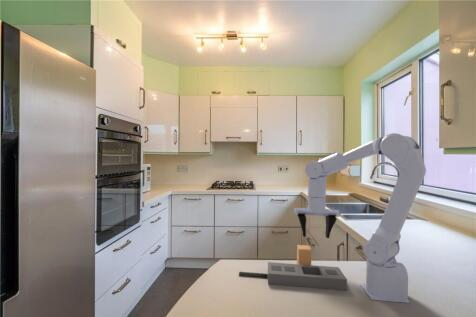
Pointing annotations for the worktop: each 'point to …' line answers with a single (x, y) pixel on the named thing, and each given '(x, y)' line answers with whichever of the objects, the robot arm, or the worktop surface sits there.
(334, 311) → the worktop surface
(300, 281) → the power strip
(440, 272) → the worktop surface
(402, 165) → the robot arm
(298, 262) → the orange rectangular block
